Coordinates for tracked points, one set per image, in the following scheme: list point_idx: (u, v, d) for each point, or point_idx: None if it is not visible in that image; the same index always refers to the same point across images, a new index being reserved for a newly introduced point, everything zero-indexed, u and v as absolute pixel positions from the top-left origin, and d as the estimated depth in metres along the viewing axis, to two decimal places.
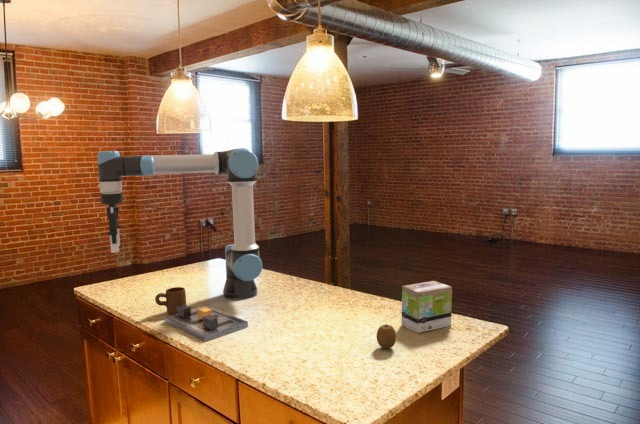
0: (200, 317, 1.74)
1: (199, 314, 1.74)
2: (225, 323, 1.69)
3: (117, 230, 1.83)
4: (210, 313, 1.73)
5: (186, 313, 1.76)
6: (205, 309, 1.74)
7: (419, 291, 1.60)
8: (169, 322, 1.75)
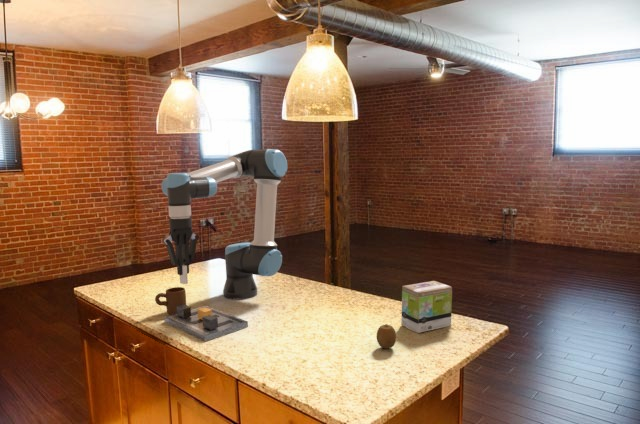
0: (200, 317, 1.74)
1: (199, 314, 1.74)
2: (225, 323, 1.69)
3: None
4: (210, 313, 1.73)
5: (186, 313, 1.76)
6: (205, 309, 1.74)
7: (419, 291, 1.60)
8: (169, 322, 1.75)
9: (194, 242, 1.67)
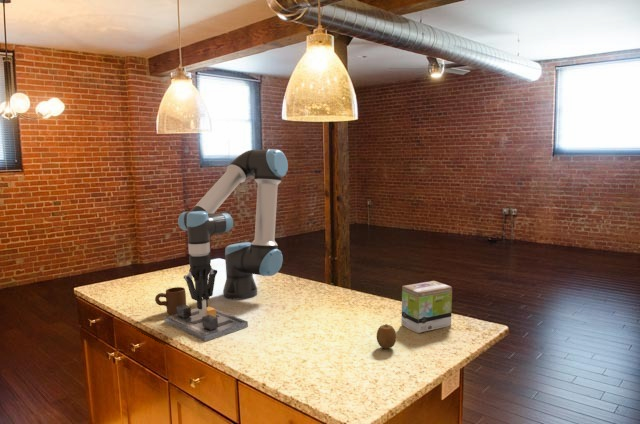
0: None
1: None
2: (225, 323, 1.69)
3: None
4: (214, 312, 1.74)
5: (186, 313, 1.76)
6: (209, 308, 1.75)
7: (419, 291, 1.60)
8: (169, 322, 1.75)
9: (213, 277, 1.74)
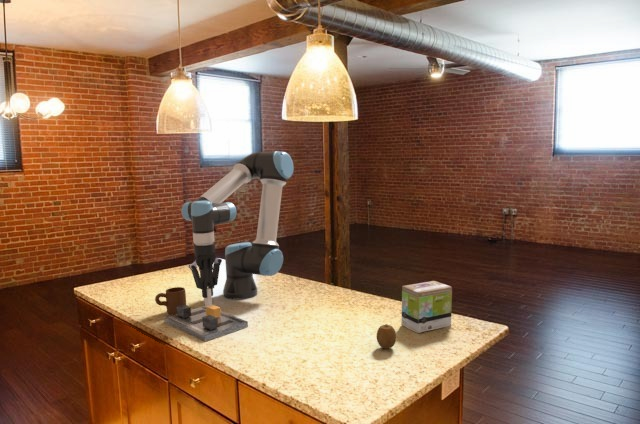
0: (208, 314, 1.76)
1: (208, 311, 1.76)
2: (225, 323, 1.69)
3: None
4: (218, 310, 1.75)
5: (186, 313, 1.76)
6: (213, 306, 1.76)
7: (419, 291, 1.60)
8: (169, 322, 1.75)
9: (217, 266, 1.75)
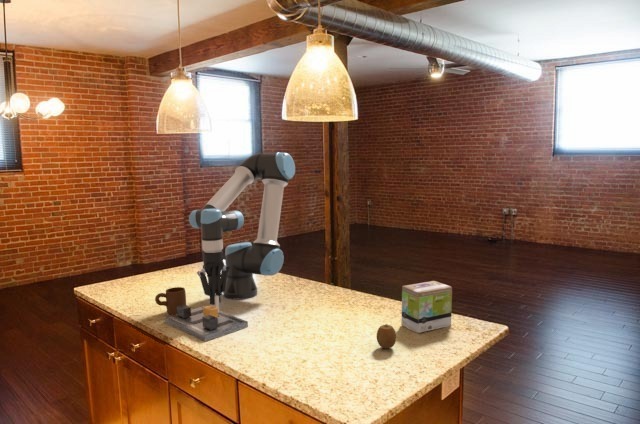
0: (205, 315, 1.75)
1: (205, 312, 1.76)
2: (225, 323, 1.69)
3: None
4: (216, 311, 1.74)
5: (186, 313, 1.76)
6: (210, 307, 1.76)
7: (419, 291, 1.60)
8: (169, 322, 1.75)
9: (225, 273, 1.78)
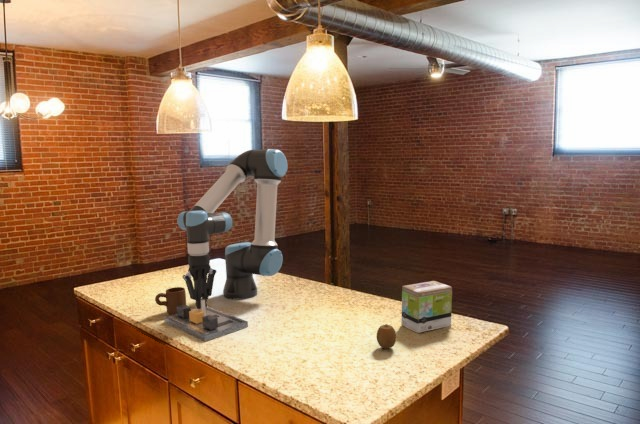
0: (191, 320, 1.71)
1: (191, 316, 1.71)
2: (225, 323, 1.69)
3: None
4: (202, 315, 1.70)
5: (186, 313, 1.76)
6: (197, 311, 1.71)
7: (419, 291, 1.60)
8: (169, 322, 1.75)
9: (212, 277, 1.74)
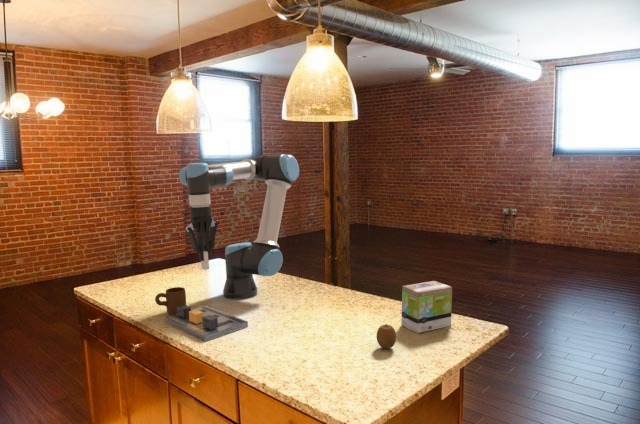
0: (191, 320, 1.71)
1: (190, 317, 1.71)
2: (225, 323, 1.69)
3: None
4: (202, 316, 1.70)
5: (186, 313, 1.76)
6: (196, 311, 1.71)
7: (419, 291, 1.60)
8: (169, 322, 1.75)
9: (214, 229, 1.74)
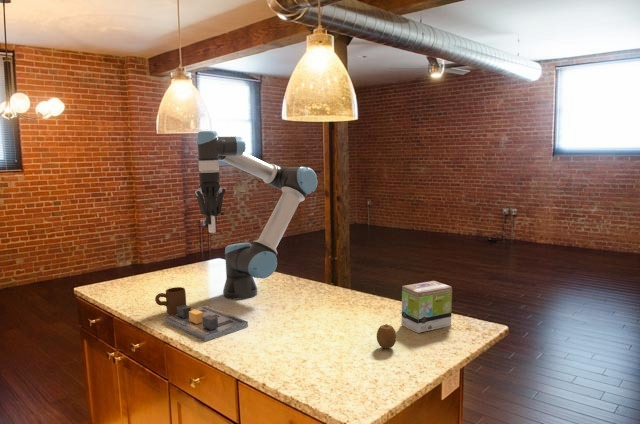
0: (191, 320, 1.71)
1: (190, 317, 1.71)
2: (225, 323, 1.69)
3: None
4: (202, 316, 1.70)
5: (186, 313, 1.76)
6: (196, 311, 1.71)
7: (419, 291, 1.60)
8: (169, 322, 1.75)
9: (221, 195, 1.84)
